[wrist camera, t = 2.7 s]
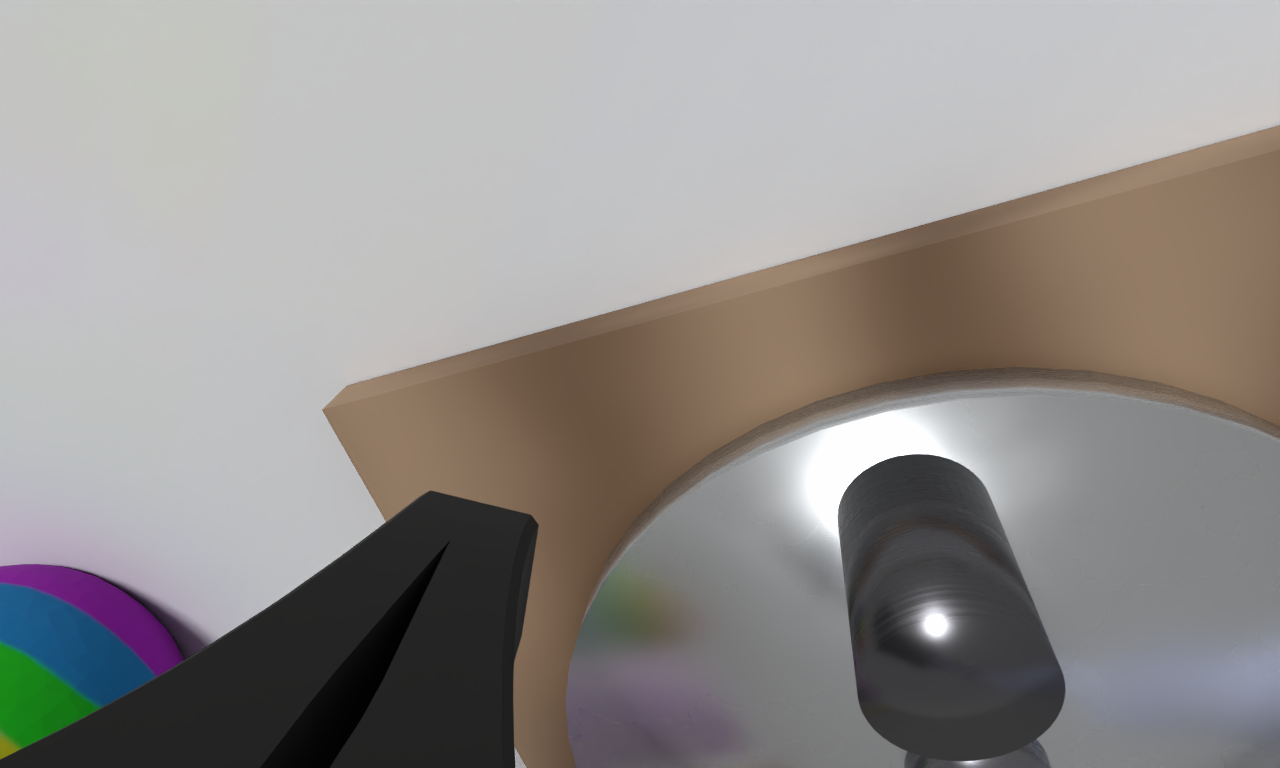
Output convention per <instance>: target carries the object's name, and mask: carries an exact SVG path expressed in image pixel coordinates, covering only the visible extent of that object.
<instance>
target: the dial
mask: <svg viewBox="0 0 1280 768" xmlns="http://www.w3.org/2000/svg"><path fill="white" fill-rule="evenodd" d="M566 712H567V725H568V737H569V741H570V745H571V749H572V752H573V756H574V760H575V764H576V768H1280V426H1278V425H1276V424H1274V423H1272V422H1269V421H1267V420H1265V419H1262V418H1260V417H1258V416H1256V415H1253V414H1251V413H1249V412H1247V411H1244V410H1242V409H1240V408H1238V407H1235V406H1233V405H1231V404H1229V403H1226V402H1224V401H1221V400H1218V399H1214V398H1211V397H1207V396H1204V395H1201V394H1197V393H1194V392H1190V391H1187V390H1184V389H1180V388H1177V387H1173V386H1170V385H1166V384H1163V383H1160V382H1155V381H1149V380H1143V379H1137V378H1131V377H1125V376H1119V375H1113V374H1107V373H1101V372H1095V371H1089V370H1070V369H1050V368H1031V367H1006V368H990V369H973V370H957V371H945V372H939V373H933V374H927V375H921V376H916V377H910V378H904V379H898V380H892V381H886V382H881V383H877V384H873V385H870V386H866V387H863V388H860V389H856V390H853V391H849V392H846V393H842V394H839V395H835V396H832V397H828V398H825V399H822V400H818V401H815V402H813V403H811V404H808V405H806V406H804V407H801V408H799V409H796V410H794V411H792V412H789V413H787V414H784V415H782V416H780V417H777V418H775V419H772V420H770V421H768V422H765V423H763V424H761V425H759V426H757V427H755V428H754V429H752V430H750V431H748V432H747V433H745V434H743V435H741V436H740V437H738V438H736V439H734V440H733V441H731V442H729V443H727V444H726V445H724V446H722V447H720V448H719V449H717V450H715V451H713V452H712V453H710V454H709V455H708V456H706V457H705V458H704V459H702V460H701V461H700V462H698V463H697V464H696V465H694V466H693V467H692V468H690V469H689V470H688V471H686V472H685V473H684V474H683V475H681V476H680V477H679V478H677V479H676V480H675V481H673V482H672V483H671V484H669V485H668V486H667V487H666V488H665V489H664V490H663V491H662V492H661V493H660V494H659V495H658V496H657V498H656V499H655V500H654V501H653V502H652V503H651V504H650V505H649V506H648V507H647V508H646V509H645V510H644V511H643V512H642V513H641V514H640V515H639V516H638V517H637V518H636V519H635V520H634V521H633V523H632V524H631V526H630V527H629V528H628V530H627V531H626V533H625V534H624V535H623V537H622V538H621V539H620V541H619V542H618V544H617V545H616V546H615V548H614V549H613V550H612V552H611V553H610V555H609V557H608V559H607V561H606V563H605V565H604V567H603V569H602V571H601V573H600V575H599V577H598V579H597V581H596V583H595V585H594V587H593V589H592V591H591V594H590V597H589V601H588V604H587V607H586V611H585V614H584V617H583V621H582V624H581V627H580V631H579V634H578V638H577V641H576V644H575V648H574V651H573V655H572V658H571V661H570V665H569V675H568V684H567V694H566Z"/></svg>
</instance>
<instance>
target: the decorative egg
mask: <svg viewBox="0 0 1280 768" xmlns="http://www.w3.org/2000/svg"><path fill="white" fill-rule="evenodd" d="M182 661H184V659H183V656H182V654H181V652H180V651H179V649H178V647H177V645H176V643H175V642H174V640H173V638H172V636H171V635H170V633H169V632H168V630H167V629H166V628H165V627H164V626H163V625H162V624H161V623H160V622H159V621H158V620H157V618H156V617H155V616H154V615H153V614H152V613H151V612H150V611H149V610H147V609H146V608H145V607H144V606H142V605H141V604H140V603H139V602H137V601H136V600H134V599H133V598H132V597H130V596H129V595H128V594H126V593H125V592H123V591H122V590H120V589H118V588H116V587H115V586H113V585H111V584H109V583H107V582H106V581H104V580H102V579H100V578H98V577H96V576H93V575H90V574H86V573H83V572H80V571H77V570H74V569H70V568H65V567H60V566H50V565H39V564H23V565H10V566H1V567H0V759H2V758H4V757H6V756H8V755H10V754H12V753H14V752H16V751H18V750H20V749H22V748H24V747H26V746H28V745H30V744H32V743H34V742H36V741H38V740H40V739H42V738H44V737H46V736H48V735H50V734H52V733H54V732H56V731H58V730H60V729H62V728H64V727H66V726H68V725H70V724H72V723H74V722H76V721H77V720H79V719H81V718H83V717H85V716H87V715H89V714H90V713H92V712H94V711H96V710H98V709H100V708H101V707H103V706H105V705H107V704H109V703H111V702H112V701H114V700H116V699H118V698H120V697H122V696H123V695H125V694H127V693H129V692H131V691H132V690H134V689H136V688H138V687H139V686H141V685H143V684H145V683H146V682H148V681H150V680H152V679H153V678H155V677H157V676H159V675H160V674H162V673H164V672H165V671H167V670H169V669H171V668H172V667H174V666H176V665H177V664H179V663H181V662H182Z"/></svg>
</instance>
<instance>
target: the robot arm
mask: <svg viewBox="0 0 1280 768" xmlns="http://www.w3.org/2000/svg"><path fill="white" fill-rule="evenodd" d="M538 527H539V525H538V523H537V522H536V521H535V519H534V518H533V517H532V515H530V514H526V513H522V512H518V511H514V510H510V509H506V508H501V507H497V506H493V505H489V504H485V503H481V502H477V501H472V500H468V499H464V498H460V497H456V496H452V495H448V494H443V493H439V492H435V491H431V490H430V491H428V492H426V493H425V494H423V495H421V496H420V497H418V498H417V499H416V500H414V501H413V502H412V503H410V504H409V505H408V506H407V507H405V508H404V509H403V510H401V511H400V512H399V513H397V514H396V515H395V516H394V517H392V518H391V519H390V520H388V521H387V522H386V523H385V524H383V525H382V526H381V527H379V528H378V529H377V530H375V531H374V532H373V533H371V534H370V535H369V536H367V537H366V538H365V539H363V540H362V541H361V542H359V543H358V544H357V545H355V546H354V547H353V548H351V549H350V550H349V551H347V552H346V553H345V554H343V555H342V556H341V557H339V558H338V559H336V560H335V561H334V562H332V563H331V564H329V565H328V566H327V567H325V568H324V569H322V570H321V571H319V572H318V573H317V574H315V575H314V576H312V577H311V578H310V579H308V580H307V581H305V582H304V583H302V584H301V585H300V586H298V587H297V588H295V589H294V590H292V591H291V592H290V593H288V594H287V595H285V596H284V597H283V598H281V599H280V600H278V601H277V602H275V603H274V604H272V605H271V606H269V607H268V608H266V609H265V610H263V611H262V612H260V613H258V614H257V615H255V616H254V617H252V618H251V619H249V620H247V621H246V622H244V623H243V624H241V625H240V626H238V627H236V628H235V629H233V630H232V631H230V632H229V633H227V634H226V635H224V636H222V637H221V638H219V639H218V640H216V641H215V642H213V643H211V644H210V645H208V646H207V647H205V648H204V649H202V650H200V651H199V652H197V653H196V654H194V655H192V656H191V657H189V658H187V659H186V660H184V661H182V662H181V663H179V664H177V665H176V666H174V667H172V668H171V669H169V670H167V671H165V672H164V673H162V674H160V675H159V676H157V677H155V678H153V679H152V680H150V681H148V682H146V683H145V684H143V685H141V686H139V687H138V688H136V689H134V690H132V691H131V692H129V693H127V694H125V695H123V696H122V697H120V698H118V699H116V700H114V701H112V702H111V703H109V704H107V705H105V706H103V707H101V708H100V709H98V710H96V711H94V712H92V713H90V714H89V715H87V716H85V717H83V718H81V719H79V720H77V721H76V722H74V723H72V724H70V725H68V726H66V727H64V728H62V729H60V730H58V731H56V732H54V733H52V734H50V735H48V736H46V737H44V738H42V739H40V740H38V741H36V742H34V743H32V744H30V745H28V746H26V747H24V748H22V749H20V750H18V751H16V752H14V753H12V754H10V755H8V756H6V757H4V758H2V759H0V768H515V752H514V712H513V676H514V661H515V657H516V654H517V650H518V647H519V644H520V640H521V637H522V631H523V624H524V618H525V612H526V605H527V599H528V592H529V586H530V579H531V573H532V566H533V560H534V553H535V547H536V540H537V534H538Z"/></svg>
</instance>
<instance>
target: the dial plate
mask: <svg viewBox="0 0 1280 768" xmlns="http://www.w3.org/2000/svg"><path fill="white" fill-rule="evenodd" d="M1006 367H1031V368H1050V369H1070V370H1089V371H1095V372H1101V373H1107V374H1113V375H1119V376H1125V377H1131V378H1137V379H1143V380H1149V381H1155V382H1160V383H1163V384H1166V385H1170V386H1173V387H1177V388H1180V389H1184V390H1187V391H1190V392H1194V393H1197V394H1201V395H1204V396H1207V397H1211V398H1214V399H1218V400H1221V401H1224V402H1226V403H1229V404H1231V405H1233V406H1235V407H1238V408H1240V409H1242V410H1244V411H1247V412H1249V413H1251V414H1253V415H1256V416H1258V417H1260V418H1262V419H1265V420H1267V421H1269V422H1272V423H1274V424H1276V425H1278V426H1280V126H1276V127H1272V128H1269V129H1265V130H1262V131H1258V132H1255V133H1251V134H1247V135H1244V136H1240V137H1237V138H1233V139H1229V140H1226V141H1222V142H1219V143H1215V144H1212V145H1208V146H1204V147H1201V148H1197V149H1194V150H1190V151H1186V152H1183V153H1179V154H1176V155H1172V156H1169V157H1165V158H1161V159H1158V160H1154V161H1151V162H1147V163H1143V164H1140V165H1136V166H1133V167H1129V168H1126V169H1122V170H1118V171H1115V172H1111V173H1108V174H1104V175H1100V176H1097V177H1093V178H1090V179H1086V180H1083V181H1079V182H1075V183H1072V184H1068V185H1065V186H1061V187H1058V188H1054V189H1050V190H1047V191H1043V192H1040V193H1036V194H1032V195H1029V196H1025V197H1022V198H1018V199H1015V200H1011V201H1007V202H1004V203H1000V204H997V205H993V206H989V207H986V208H982V209H979V210H975V211H972V212H968V213H964V214H961V215H957V216H954V217H950V218H946V219H943V220H939V221H936V222H932V223H929V224H925V225H921V226H918V227H914V228H911V229H907V230H903V231H900V232H896V233H893V234H889V235H886V236H882V237H878V238H875V239H871V240H868V241H864V242H860V243H857V244H853V245H850V246H846V247H843V248H839V249H835V250H832V251H828V252H825V253H821V254H817V255H814V256H810V257H807V258H803V259H800V260H796V261H792V262H789V263H785V264H782V265H778V266H775V267H771V268H767V269H764V270H760V271H757V272H753V273H749V274H746V275H742V276H739V277H735V278H732V279H728V280H724V281H721V282H717V283H714V284H710V285H706V286H703V287H699V288H696V289H692V290H689V291H685V292H681V293H678V294H674V295H671V296H667V297H663V298H660V299H656V300H653V301H649V302H646V303H642V304H638V305H635V306H631V307H628V308H624V309H620V310H617V311H613V312H610V313H606V314H603V315H599V316H595V317H592V318H588V319H585V320H581V321H577V322H574V323H570V324H567V325H563V326H560V327H556V328H552V329H549V330H545V331H542V332H538V333H534V334H531V335H527V336H524V337H520V338H517V339H513V340H509V341H506V342H502V343H499V344H495V345H492V346H488V347H484V348H481V349H477V350H474V351H470V352H466V353H463V354H459V355H456V356H452V357H449V358H445V359H441V360H438V361H434V362H431V363H427V364H423V365H420V366H416V367H413V368H409V369H406V370H402V371H398V372H395V373H391V374H388V375H384V376H380V377H377V378H373V379H370V380H366V381H363V382H359V383H355V384H352V385H348V386H346V387H345V388H344V389H343V390H342V391H341V392H340V393H339V394H338V395H337V396H336V397H335V398H334V399H333V400H332V401H331V402H330V403H329V404H328V405H327V406H326V407H325V408H324V409H322V411H323V412H324V414H325V416H326V418H327V419H328V421H329V423H330V425H331V426H332V428H333V430H334V432H335V433H336V435H337V437H338V439H339V440H340V442H341V444H342V446H343V447H344V449H345V451H346V453H347V454H348V456H349V458H350V460H351V461H352V463H353V465H354V467H355V468H356V470H357V472H358V473H359V475H360V477H361V479H362V480H363V482H364V484H365V486H366V487H367V489H368V491H369V493H370V494H371V496H372V498H373V500H374V501H375V503H376V505H377V507H378V508H379V510H380V512H381V514H382V515H383V517H384V519H385V521H386V522H387V521H388V520H390V519H391V518H392V517H394V516H395V515H396V514H397V513H399V512H400V511H401V510H403V509H404V508H405V507H407V506H408V505H409V504H410V503H412V502H413V501H414V500H416V499H417V498H418V497H420V496H421V495H423V494H425V493H426V492H428V491H430V490H431V491H435V492H439V493H443V494H448V495H452V496H456V497H460V498H464V499H468V500H472V501H477V502H481V503H485V504H489V505H493V506H497V507H501V508H506V509H510V510H514V511H518V512H522V513H526V514H530V515H532V517H533V518H534V519H535V521H536V522H537V523H538V525H539V527H538V534H537V540H536V547H535V553H534V560H533V566H532V573H531V579H530V586H529V592H528V599H527V605H526V612H525V618H524V624H523V631H522V637H521V640H520V644H519V647H518V650H517V654H516V657H515V661H514V676H513V712H514V746H515V748H516V750H517V751H518V753H519V755H520V757H521V758H522V760H523V762H524V764H525V765H526V767H527V768H576V764H575V760H574V756H573V752H572V749H571V745H570V741H569V737H568V725H567V712H566V694H567V684H568V675H569V665H570V661H571V658H572V655H573V651H574V648H575V644H576V641H577V638H578V634H579V631H580V627H581V624H582V621H583V617H584V614H585V611H586V607H587V604H588V601H589V597H590V594H591V591H592V589H593V587H594V585H595V583H596V581H597V579H598V577H599V575H600V573H601V571H602V569H603V567H604V565H605V563H606V561H607V559H608V557H609V555H610V553H611V552H612V550H613V549H614V548H615V546H616V545H617V544H618V542H619V541H620V539H621V538H622V537H623V535H624V534H625V533H626V531H627V530H628V528H629V527H630V526H631V524H632V523H633V521H634V520H635V519H636V518H637V517H638V516H639V515H640V514H641V513H642V512H643V511H644V510H645V509H646V508H647V507H648V506H649V505H650V504H651V503H652V502H653V501H654V500H655V499H656V498H657V496H658V495H659V494H660V493H661V492H662V491H663V490H664V489H665V488H666V487H667V486H668V485H669V484H671V483H672V482H673V481H675V480H676V479H677V478H679V477H680V476H681V475H683V474H684V473H685V472H686V471H688V470H689V469H690V468H692V467H693V466H694V465H696V464H697V463H698V462H700V461H701V460H702V459H704V458H705V457H706V456H708V455H709V454H710V453H712V452H713V451H715V450H717V449H719V448H720V447H722V446H724V445H726V444H727V443H729V442H731V441H733V440H734V439H736V438H738V437H740V436H741V435H743V434H745V433H747V432H748V431H750V430H752V429H754V428H755V427H757V426H759V425H761V424H763V423H765V422H768V421H770V420H772V419H775V418H777V417H780V416H782V415H784V414H787V413H789V412H792V411H794V410H796V409H799V408H801V407H804V406H806V405H808V404H811V403H813V402H815V401H818V400H822V399H825V398H828V397H832V396H835V395H839V394H842V393H846V392H849V391H853V390H856V389H860V388H863V387H866V386H870V385H873V384H877V383H881V382H886V381H892V380H898V379H904V378H910V377H916V376H921V375H927V374H933V373H939V372H945V371H957V370H973V369H990V368H1006Z"/></svg>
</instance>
